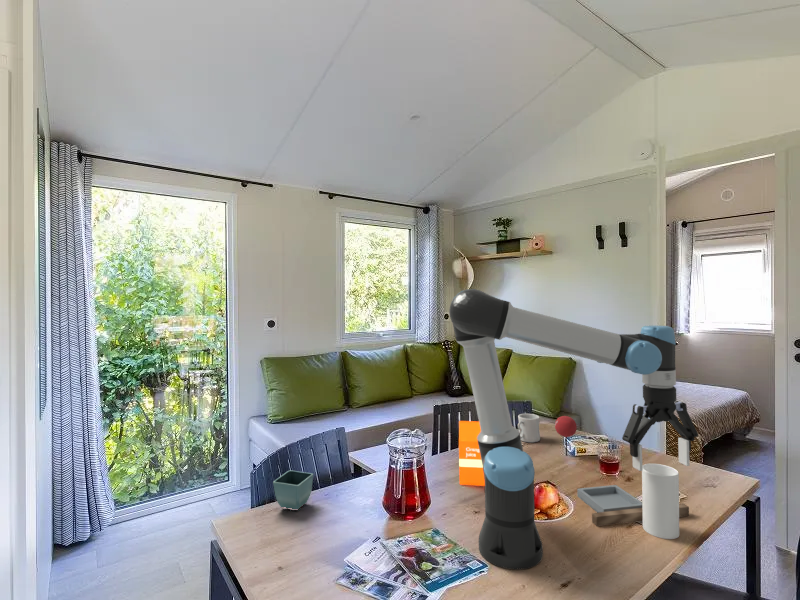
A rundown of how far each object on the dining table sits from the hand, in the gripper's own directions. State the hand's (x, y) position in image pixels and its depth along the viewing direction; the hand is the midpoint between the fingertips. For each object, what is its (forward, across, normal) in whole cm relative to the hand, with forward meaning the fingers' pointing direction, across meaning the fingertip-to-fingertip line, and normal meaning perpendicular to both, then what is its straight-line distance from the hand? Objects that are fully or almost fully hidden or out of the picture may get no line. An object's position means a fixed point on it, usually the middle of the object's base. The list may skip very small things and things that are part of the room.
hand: (661, 466), depth 113 cm
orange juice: (+16, -38, +39) cm, 57 cm away
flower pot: (+16, -96, +32) cm, 103 cm away
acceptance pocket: (+17, -4, +15) cm, 23 cm away
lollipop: (+17, +4, +53) cm, 56 cm away
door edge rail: (+17, -2, +6) cm, 18 cm away
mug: (+17, -3, +72) cm, 74 cm away
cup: (+17, 0, 0) cm, 17 cm away
